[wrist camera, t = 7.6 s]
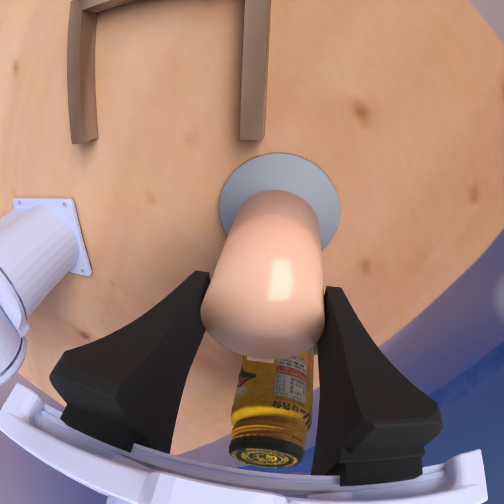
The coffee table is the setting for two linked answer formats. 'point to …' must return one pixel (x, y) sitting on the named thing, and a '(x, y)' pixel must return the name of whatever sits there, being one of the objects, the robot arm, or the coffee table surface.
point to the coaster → (282, 178)
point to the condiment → (273, 411)
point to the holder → (83, 67)
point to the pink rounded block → (268, 280)
